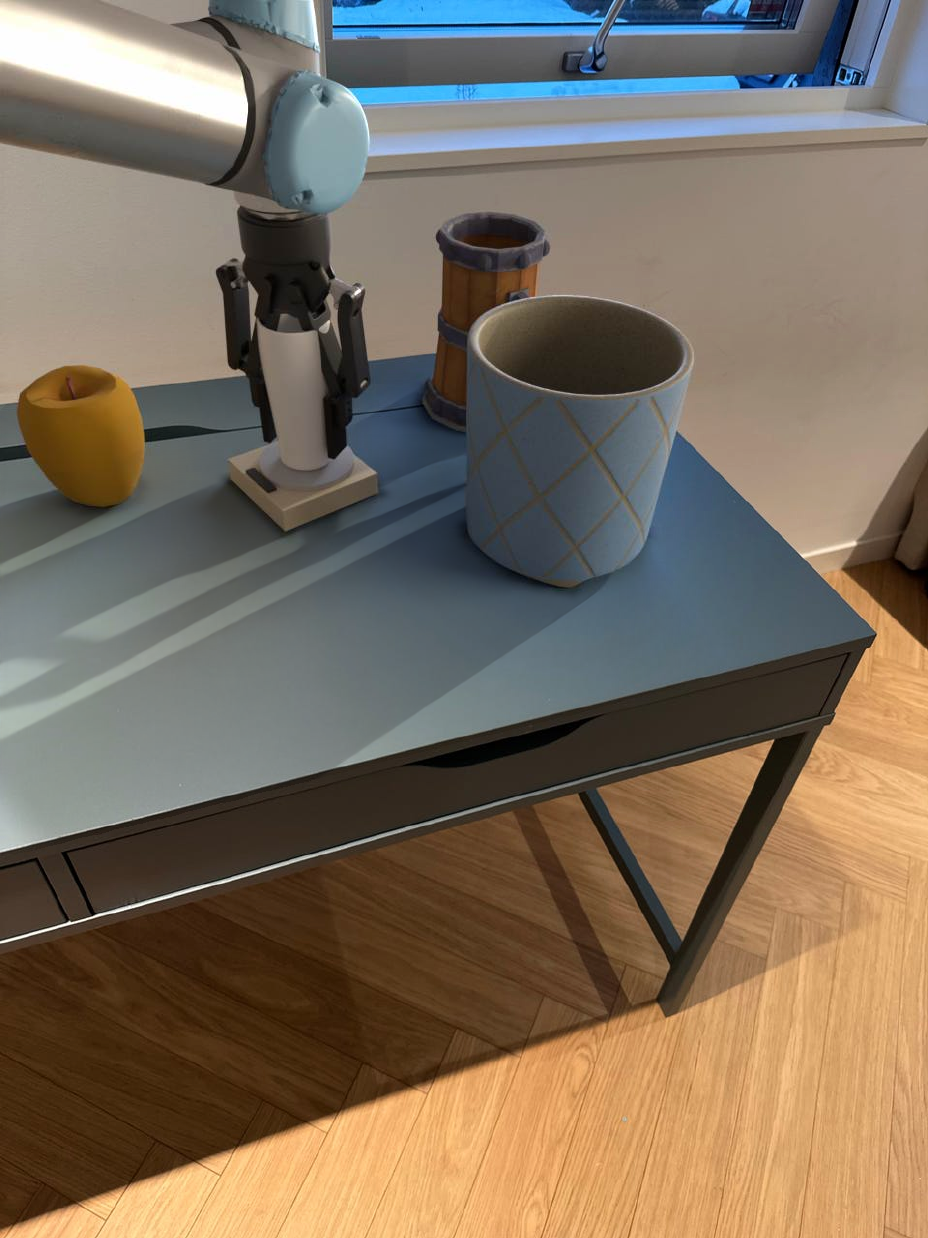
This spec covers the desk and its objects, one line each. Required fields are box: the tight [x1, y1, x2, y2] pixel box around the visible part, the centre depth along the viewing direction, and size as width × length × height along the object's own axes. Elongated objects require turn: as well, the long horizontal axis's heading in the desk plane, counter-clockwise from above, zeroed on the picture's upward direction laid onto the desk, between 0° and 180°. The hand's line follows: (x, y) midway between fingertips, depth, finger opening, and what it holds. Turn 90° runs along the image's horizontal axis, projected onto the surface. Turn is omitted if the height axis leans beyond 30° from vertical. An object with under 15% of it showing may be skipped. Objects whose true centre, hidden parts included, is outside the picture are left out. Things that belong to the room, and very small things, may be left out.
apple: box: [16, 364, 146, 508], centre depth 87 cm, size 11×11×13 cm
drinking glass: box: [255, 312, 331, 471], centre depth 87 cm, size 7×7×15 cm
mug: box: [421, 211, 551, 433], centre depth 99 cm, size 19×14×20 cm
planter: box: [465, 294, 695, 589], centre depth 83 cm, size 19×19×20 cm
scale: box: [227, 440, 379, 532], centre depth 93 cm, size 11×11×3 cm
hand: (305, 443), depth 91 cm, fingers open, 6 cm apart
